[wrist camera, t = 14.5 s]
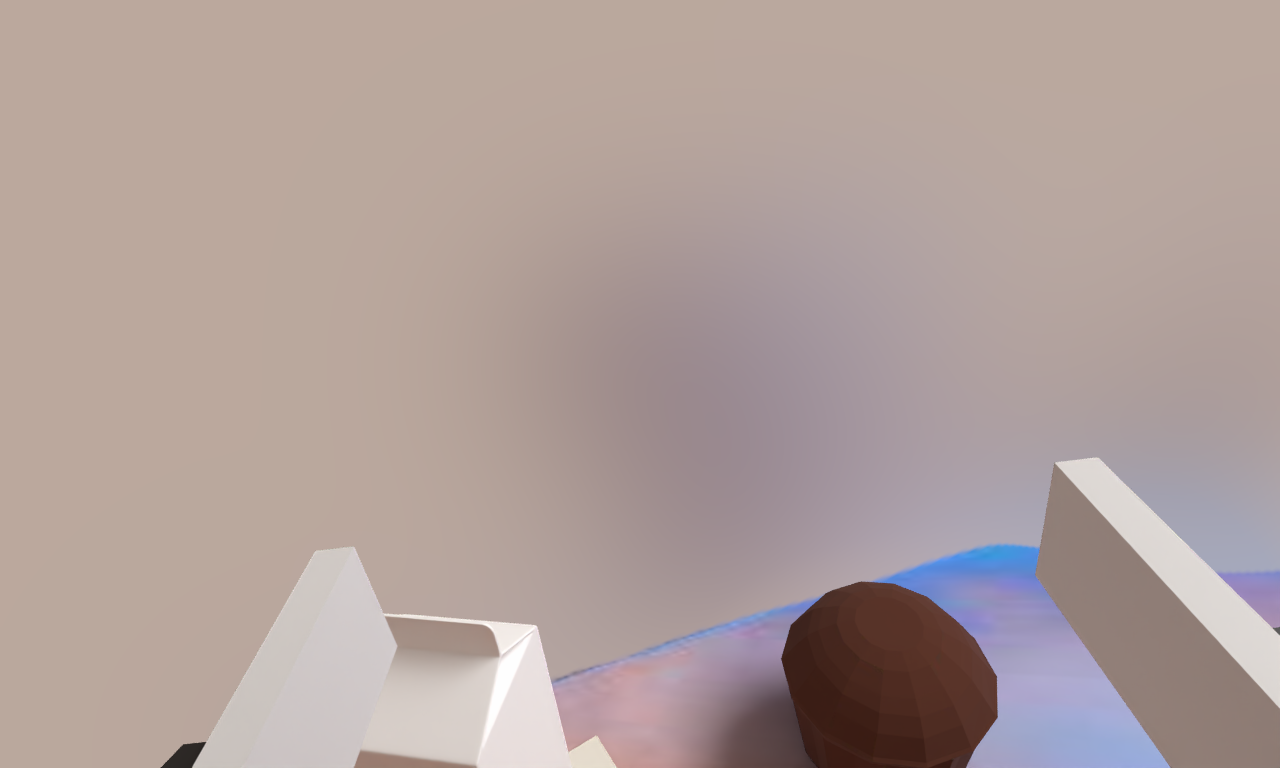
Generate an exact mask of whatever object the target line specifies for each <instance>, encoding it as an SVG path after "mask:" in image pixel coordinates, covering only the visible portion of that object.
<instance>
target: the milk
mask: <svg viewBox="0 0 1280 768" xmlns="http://www.w3.org/2000/svg"><path fill="white" fill-rule="evenodd" d="M384 616H385V619H386V621H387V623H388V626H389V628H390V630H391V632H392V635H393V637H394V639H395V642H396V644H397V649H396V652H395V654H394V657H393V660H392V663H391V665H390V668H389V671H388V674H387V677H386V679H385V682H384V685H383V688H382V691H381V693H380V696H379V699H378V702H377V704H376V707H375V710H374V713H373V716H372V718H371V721H370V724H369V727H368V730H367V732H366V735H365V738H364V741H363V743H362V746H361V749H360V752H359V755H358V757H357V760H356V763H355V766H354V768H572V766H571V761H570V757H569V753H568V749H567V745H566V741H565V737H564V733H563V729H562V725H561V721H560V717H559V713H558V709H557V705H556V701H555V697H554V693H553V689H552V685H551V681H550V677H549V673H548V669H547V664H546V660H545V656H544V652H543V649H542V644H541V640H540V636H539V632H538V628H537V626H536V625H526V624H515V623H504V622H492V621H480V620H468V619H455V618H445V617H433V616H421V615H409V614H402V615H395V614H384Z"/></svg>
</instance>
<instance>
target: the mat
mask: <svg viewBox="0 0 1280 768" xmlns="http://www.w3.org/2000/svg"><path fill="white" fill-rule="evenodd" d="M568 753H569V757H570V761H571V766H572V768H617V767H616V766H615V764H614V763H613V761H612V759H611V758H610V756H609V755H608V753H607V751H606V750H605V748H604V747H603V745H602V743H601V742H600V740H599V738H598V737H597V735H596V736H595V737H593V738H591V739H590V740H588V741H586V742H585V743H583V744H581V745H580V746H578V747H576V748H575V749H573V750H571V751H570V752H568Z"/></svg>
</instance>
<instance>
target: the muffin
mask: <svg viewBox="0 0 1280 768" xmlns="http://www.w3.org/2000/svg"><path fill="white" fill-rule="evenodd" d="M781 659H782V663H783V667H784V671H785V675H786V679H787V682H788V686H789V690H790V694H791V698H792V700H793V702H794V706H795V710H796V714H797V718H798V722H799V726H800V730H801V734H802V738H803V742H804V746H805V750H806V753H807V754H808V755H809V757H810V758H811V759H812V761H813V762H814V763H815V764H816V766H817V767H818V768H966V766H967V764H968V762H969V760H970V758H971V756H972V754H973V752H974V750H975V748H976V747H977V746H978V744H979V743H980V741H981V740H982V739H983V737H984V736H985V734H986V733H987V732H988V730H989V729H990V727H991V726H992V725H993V723H994V722H995V720H996V719H997V718H998V714H997V676H996V674H995V673H994V671H993V669H992V668H991V666H990V664H989V662H988V661H987V659H986V657H985V656H984V654H983V652H982V650H981V649H980V647H979V645H978V643H977V642H976V640H975V638H974V637H972V636H971V635H970V634H969V633H968V632H967V631H966V630H965V629H964V628H963V626H961V625H960V624H959V623H958V622H957V621H956V620H955V619H954V618H952V617H951V616H950V615H949V614H947V613H946V612H945V611H944V610H943V609H941V608H940V607H939V606H938V605H936V604H935V603H934V602H933V601H932V600H930V599H929V598H928V597H926V596H924V595H921V594H919V593H916V592H914V591H911V590H909V589H906V588H903V587H901V586H898V585H896V584H890V583H875V582H858V583H855V584H851V585H848V586H845V587H842V588H839V589H835V590H832V591H830V592H828V593H826V594H825V595H824V596H822V597H821V598H820V599H819V600H818V601H817V602H816V603H814V604H813V605H812V606H811V607H810V608H809V609H808V610H807V611H806V612H805V613H804V614H802V615H801V616H800V617H799V618H798V619H797V620H796V621H795V622H794V623H793V624H792V625H791V627H790V630H789V634H788V637H787V641H786V644H785V648H784V651H783V654H782V658H781Z"/></svg>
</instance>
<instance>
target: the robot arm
mask: <svg viewBox="0 0 1280 768" xmlns="http://www.w3.org/2000/svg"><path fill="white" fill-rule="evenodd" d="M1035 575H1036V577H1037V578H1038V580H1039V581H1040V583H1041V584H1042V585H1043V587H1044V588H1045V590H1046V591H1047V593H1048V594H1049V595H1050V597H1051V598H1052V600H1053V601H1054V602H1055V604H1056V605H1057V607H1058V608H1059V610H1060V611H1061V612H1062V614H1063V615H1064V617H1065V618H1066V619H1067V621H1068V622H1069V624H1070V625H1071V627H1072V628H1073V629H1074V631H1075V632H1076V634H1077V635H1078V637H1079V638H1080V639H1081V641H1082V642H1083V644H1084V645H1085V646H1086V648H1087V649H1088V651H1089V652H1090V654H1091V655H1092V656H1093V658H1094V659H1095V661H1096V662H1097V664H1098V665H1099V666H1100V668H1101V669H1102V671H1103V672H1104V673H1105V675H1106V676H1107V678H1108V679H1109V681H1110V682H1111V683H1112V685H1113V686H1114V688H1115V689H1116V691H1117V692H1118V693H1119V695H1120V696H1121V698H1122V699H1123V700H1124V702H1125V703H1126V705H1127V706H1128V708H1129V709H1130V710H1131V712H1132V713H1133V715H1134V716H1135V718H1136V719H1137V720H1138V722H1139V723H1140V725H1141V726H1142V727H1143V729H1144V730H1145V732H1146V733H1147V735H1148V736H1149V737H1150V739H1151V740H1152V742H1153V743H1154V744H1155V746H1156V747H1157V749H1158V750H1159V752H1160V753H1161V754H1162V756H1163V757H1164V759H1165V760H1166V762H1167V763H1168V764H1169V766H1170V767H1171V768H1280V627H1278V628H1272V627H1271V626H1270V625H1269V624H1268V623H1266V622H1265V621H1264V620H1263V619H1262V618H1261V617H1260V616H1259V615H1258V614H1257V613H1256V612H1255V611H1254V610H1253V609H1252V608H1251V607H1250V606H1249V605H1248V604H1247V603H1246V602H1245V601H1244V600H1243V599H1242V598H1241V597H1240V596H1239V595H1238V594H1237V593H1236V592H1235V591H1234V590H1233V589H1232V588H1231V587H1230V586H1229V585H1228V584H1227V583H1226V582H1225V581H1224V580H1223V579H1222V578H1221V577H1219V576H1218V575H1217V574H1216V573H1215V572H1214V571H1213V570H1212V569H1211V568H1210V567H1209V566H1208V565H1207V564H1206V563H1205V562H1204V561H1203V560H1202V559H1201V558H1200V557H1199V556H1198V555H1197V554H1196V553H1195V552H1194V551H1193V550H1192V549H1191V548H1190V547H1189V546H1188V545H1187V544H1186V543H1185V542H1184V541H1183V540H1182V539H1181V538H1180V537H1179V536H1178V535H1177V534H1176V533H1175V532H1174V531H1173V530H1171V529H1170V528H1169V527H1168V526H1167V525H1166V524H1165V523H1164V522H1163V521H1162V520H1161V519H1160V518H1159V517H1158V516H1157V515H1156V514H1155V513H1154V512H1153V511H1152V510H1151V509H1150V508H1149V507H1148V506H1147V505H1146V504H1145V503H1144V502H1143V501H1142V500H1141V499H1140V498H1139V497H1138V496H1137V495H1136V494H1135V493H1134V492H1133V491H1132V490H1131V489H1130V488H1128V486H1127V485H1125V483H1123V482H1122V481H1121V480H1120V479H1119V478H1118V477H1117V476H1116V475H1115V474H1114V473H1113V472H1112V471H1111V470H1110V469H1109V468H1108V467H1107V466H1106V465H1105V464H1104V463H1103V462H1102V461H1101V460H1100V459H1099V458H1098V457H1097V458H1089V459H1080V460H1072V461H1063V462H1055V463H1054V468H1053V474H1052V480H1051V486H1050V492H1049V498H1048V503H1047V509H1046V516H1045V521H1044V527H1043V533H1042V539H1041V545H1040V550H1039V556H1038V562H1037V568H1036V574H1035ZM396 649H397V644H396V642H395V639H394V637H393V635H392V632H391V630H390V628H389V626H388V623H387V621H386V619H385V616H384V614H383V612H382V610H381V607H380V605H379V603H378V601H377V598H376V596H375V594H374V591H373V589H372V587H371V584H370V582H369V580H368V578H367V575H366V573H365V571H364V568H363V566H362V564H361V561H360V559H359V557H358V555H357V552H356V550H355V548H354V547H345V548H337V549H328V550H320V551H315V553H314V554H313V556H312V558H311V560H310V561H309V563H308V565H307V567H306V568H305V570H304V572H303V574H302V576H301V577H300V579H299V581H298V583H297V584H296V586H295V588H294V589H293V591H292V593H291V595H290V597H289V598H288V600H287V602H286V604H285V606H284V607H283V609H282V611H281V612H280V614H279V616H278V618H277V619H276V621H275V623H274V625H273V626H272V628H271V630H270V632H269V634H268V635H267V637H266V639H265V640H264V642H263V644H262V646H261V648H260V649H259V651H258V653H257V654H256V657H255V658H254V660H253V661H252V664H251V665H250V667H249V668H248V670H247V672H246V674H245V676H244V677H243V679H242V681H241V683H240V684H239V686H238V688H237V690H236V691H235V693H234V695H233V697H232V698H231V700H230V702H229V704H228V705H227V707H226V709H225V711H224V712H223V714H222V716H221V718H220V719H219V721H218V723H217V725H216V726H215V728H214V730H213V732H212V733H211V735H210V737H209V739H208V740H207V742H202V743H192V744H183V746H181V747H180V748H179V749H178V750H177V751H176V753H175V754H174V755H173V756H172V757H171V758H170V759H169V760H168V761H167V762H166V763H165V764H164V765H163V766H162V767H161V768H354V766H355V763H356V760H357V757H358V755H359V752H360V749H361V746H362V743H363V741H364V738H365V735H366V732H367V730H368V727H369V724H370V721H371V718H372V716H373V713H374V710H375V707H376V704H377V702H378V699H379V696H380V693H381V691H382V688H383V685H384V682H385V679H386V677H387V674H388V671H389V668H390V665H391V663H392V660H393V657H394V654H395V652H396Z"/></svg>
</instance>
